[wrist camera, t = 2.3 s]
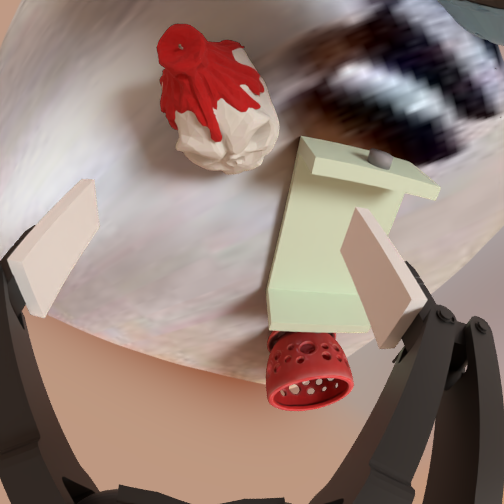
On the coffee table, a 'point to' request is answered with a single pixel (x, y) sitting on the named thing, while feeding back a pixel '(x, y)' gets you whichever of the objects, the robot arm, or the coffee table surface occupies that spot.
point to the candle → (215, 101)
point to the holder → (332, 232)
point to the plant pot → (306, 370)
